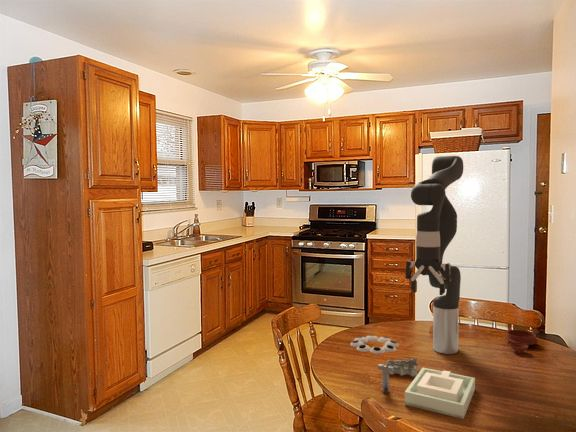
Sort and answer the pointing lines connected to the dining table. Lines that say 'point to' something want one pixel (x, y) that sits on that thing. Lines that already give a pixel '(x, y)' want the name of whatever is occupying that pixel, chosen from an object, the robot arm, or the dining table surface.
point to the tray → (437, 403)
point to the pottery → (520, 340)
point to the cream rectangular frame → (441, 386)
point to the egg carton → (404, 366)
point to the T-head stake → (385, 376)
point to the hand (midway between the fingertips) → (427, 293)
